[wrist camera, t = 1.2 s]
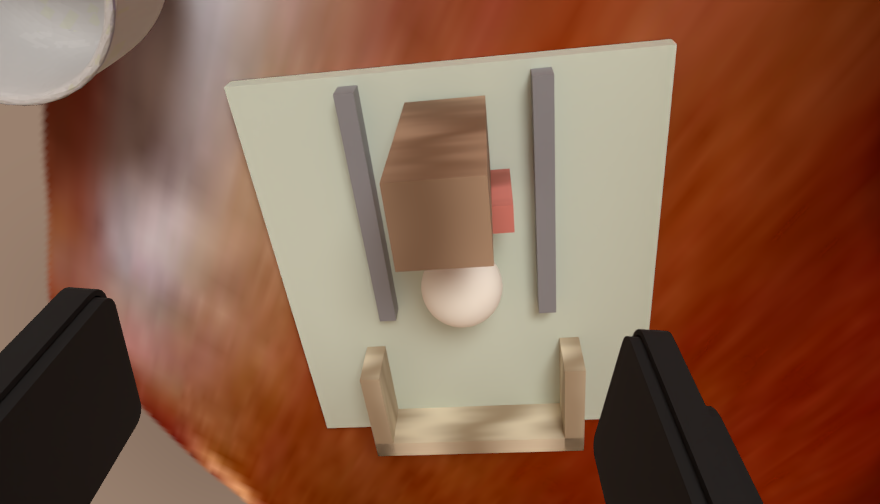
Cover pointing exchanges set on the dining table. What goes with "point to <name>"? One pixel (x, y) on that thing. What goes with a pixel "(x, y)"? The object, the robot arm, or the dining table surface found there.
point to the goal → (476, 415)
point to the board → (516, 254)
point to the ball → (462, 294)
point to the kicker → (444, 187)
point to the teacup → (65, 43)
